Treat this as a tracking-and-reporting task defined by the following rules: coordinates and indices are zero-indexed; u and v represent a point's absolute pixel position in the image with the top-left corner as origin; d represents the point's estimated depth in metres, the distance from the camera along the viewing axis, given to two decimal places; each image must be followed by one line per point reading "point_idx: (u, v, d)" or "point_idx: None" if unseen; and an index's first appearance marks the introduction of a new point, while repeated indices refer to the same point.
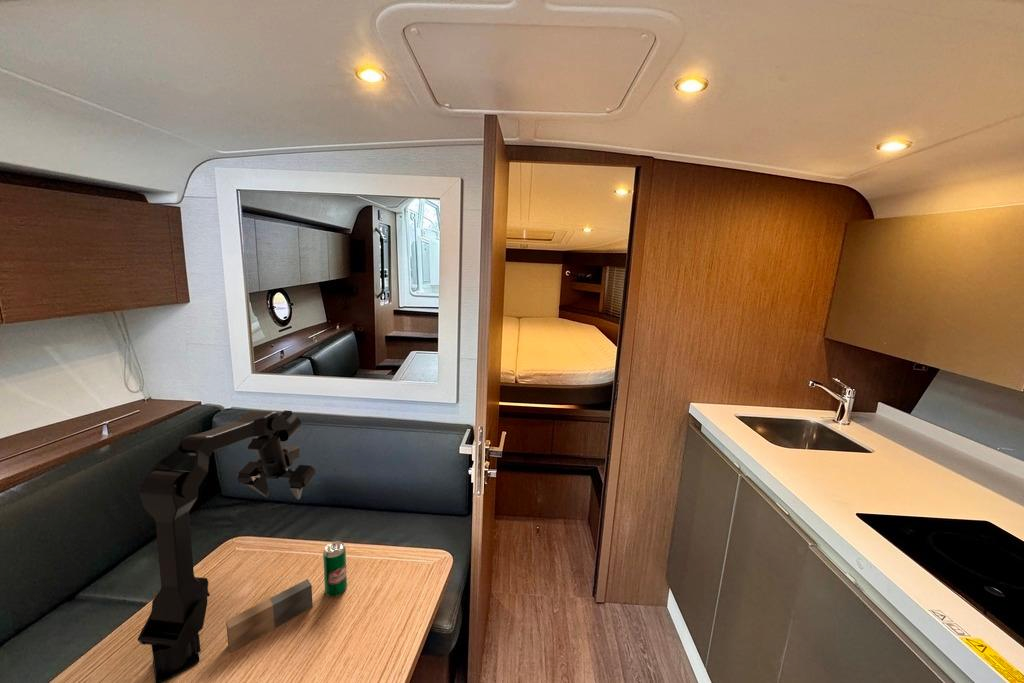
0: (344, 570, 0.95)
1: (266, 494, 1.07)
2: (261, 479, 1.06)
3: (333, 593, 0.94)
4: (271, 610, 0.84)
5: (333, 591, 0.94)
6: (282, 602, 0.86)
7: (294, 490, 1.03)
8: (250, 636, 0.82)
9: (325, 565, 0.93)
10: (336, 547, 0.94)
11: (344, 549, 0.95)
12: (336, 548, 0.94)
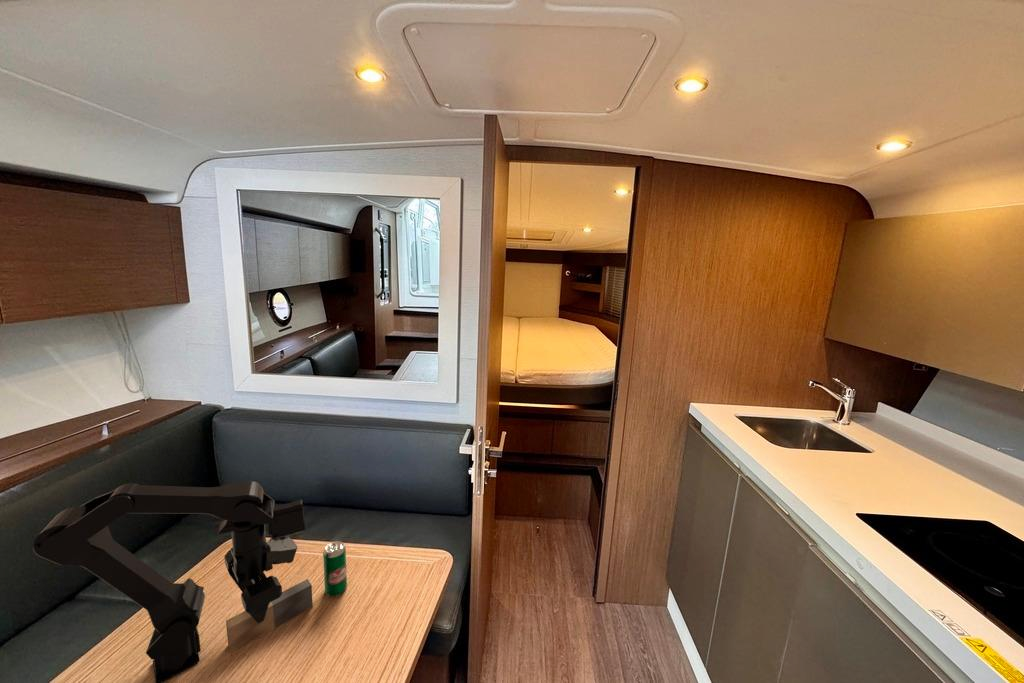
0: (344, 570, 0.95)
1: None
2: None
3: (333, 593, 0.94)
4: (271, 610, 0.84)
5: (333, 591, 0.94)
6: (282, 602, 0.86)
7: None
8: (250, 636, 0.82)
9: (325, 565, 0.93)
10: (336, 547, 0.94)
11: (344, 549, 0.95)
12: (336, 548, 0.94)
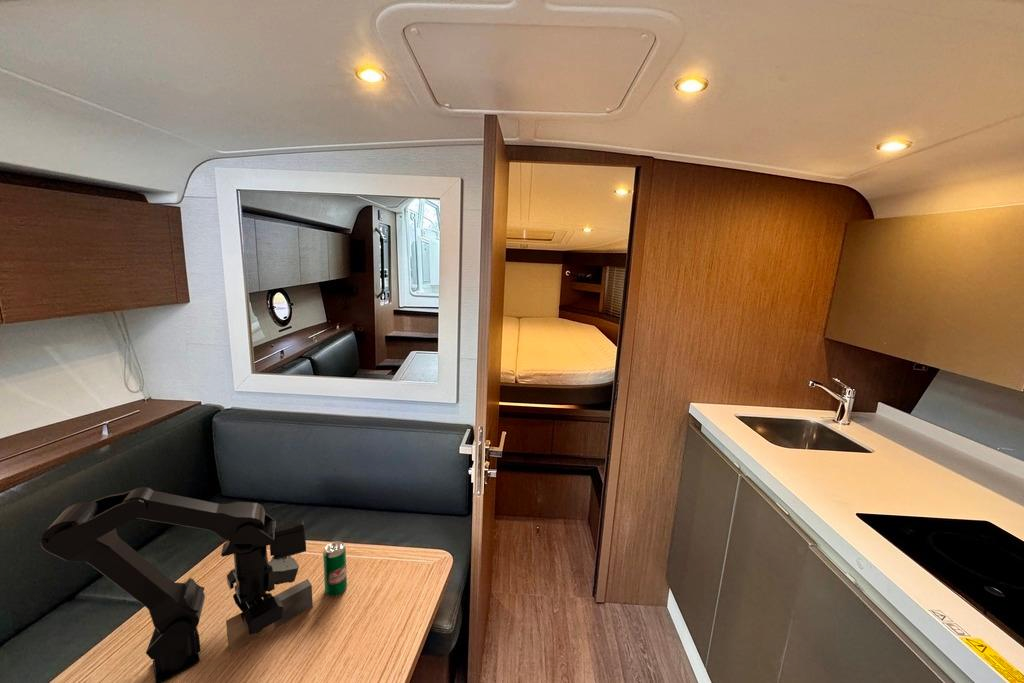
0: (344, 570, 0.95)
1: None
2: None
3: (333, 593, 0.94)
4: None
5: (333, 591, 0.94)
6: (282, 602, 0.86)
7: None
8: (250, 636, 0.82)
9: (325, 565, 0.93)
10: (336, 547, 0.94)
11: (344, 549, 0.95)
12: (336, 548, 0.94)
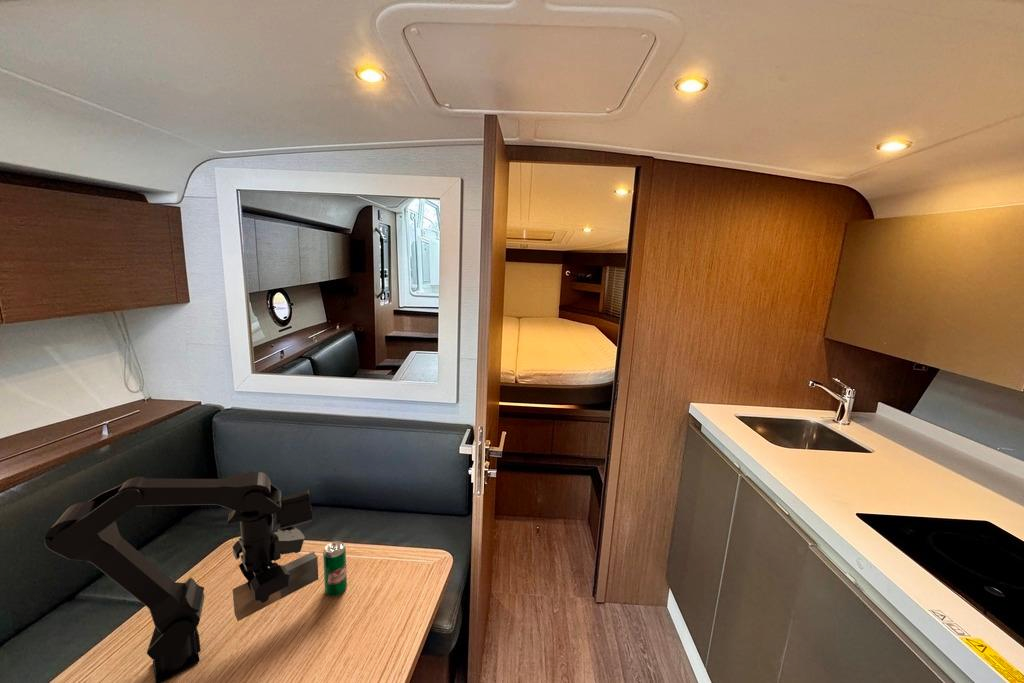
0: (344, 570, 0.95)
1: None
2: None
3: (333, 593, 0.94)
4: None
5: (333, 591, 0.94)
6: None
7: None
8: (256, 605, 0.82)
9: (325, 565, 0.93)
10: (336, 547, 0.94)
11: (344, 549, 0.95)
12: (336, 548, 0.94)
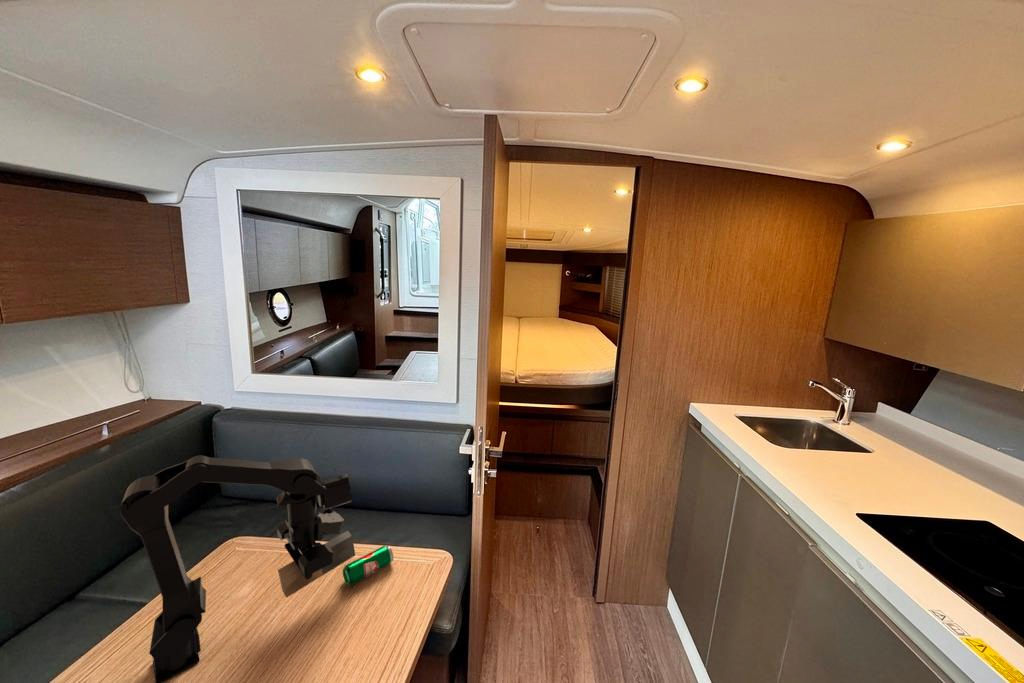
0: (371, 574, 1.00)
1: None
2: None
3: (354, 575, 0.96)
4: None
5: (357, 574, 0.97)
6: None
7: None
8: (301, 582, 0.88)
9: (379, 553, 1.02)
10: None
11: None
12: None
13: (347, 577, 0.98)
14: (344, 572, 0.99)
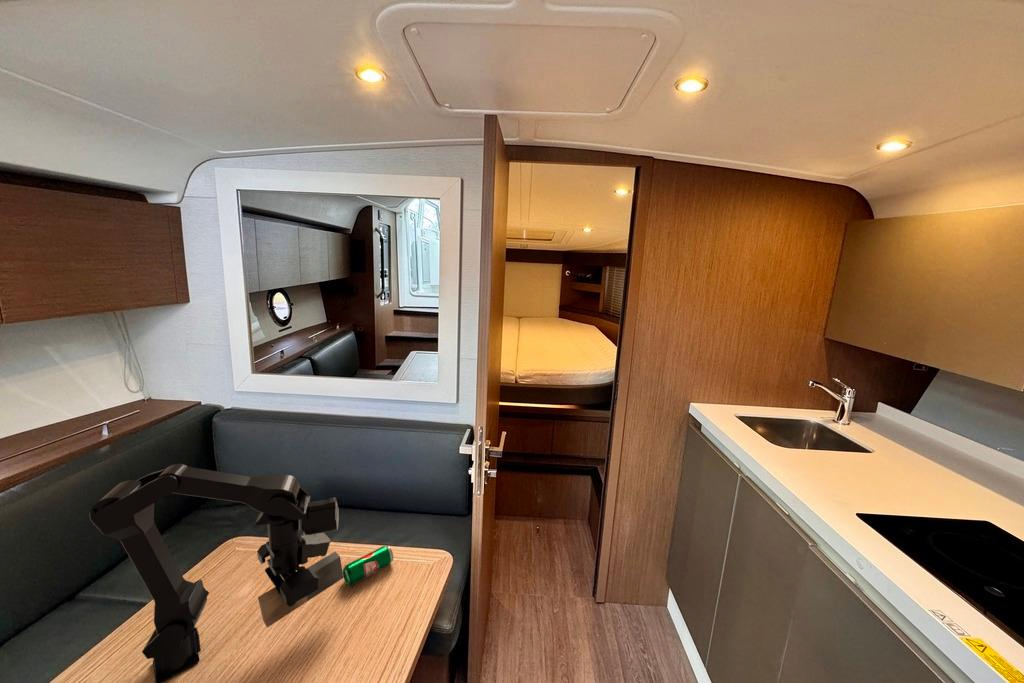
0: (371, 574, 1.01)
1: None
2: None
3: (354, 575, 0.96)
4: None
5: (357, 574, 0.97)
6: None
7: None
8: (284, 610, 0.81)
9: (379, 553, 1.02)
10: None
11: None
12: None
13: (347, 577, 0.98)
14: (344, 572, 0.99)
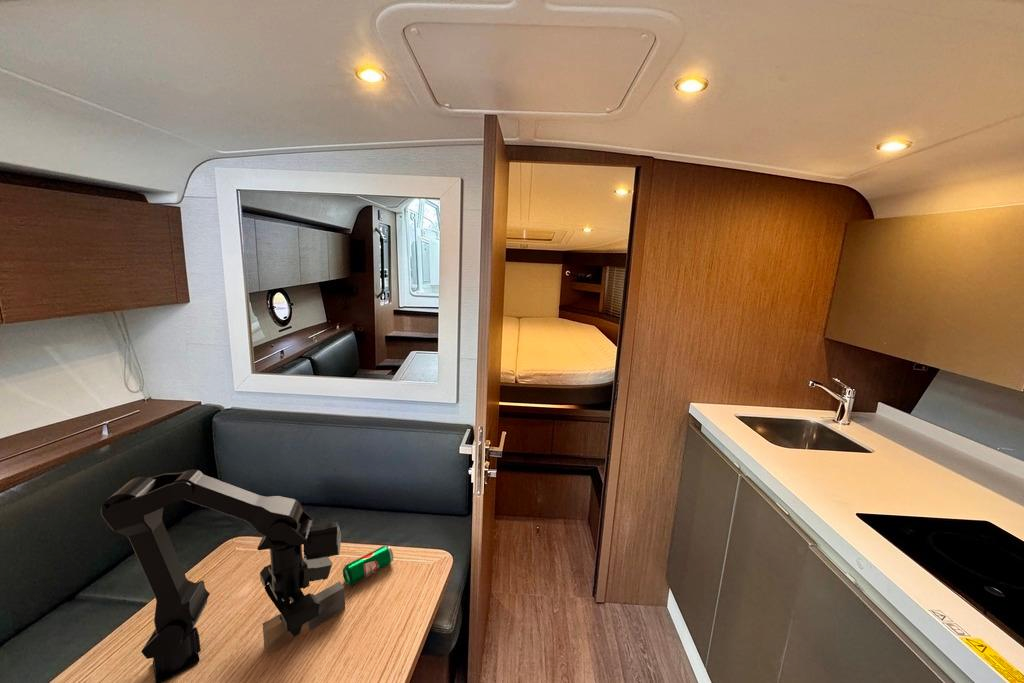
0: (371, 574, 1.01)
1: None
2: None
3: (354, 575, 0.96)
4: None
5: (357, 574, 0.97)
6: None
7: None
8: (286, 639, 0.81)
9: (379, 553, 1.02)
10: None
11: None
12: None
13: (347, 577, 0.98)
14: (344, 572, 0.99)
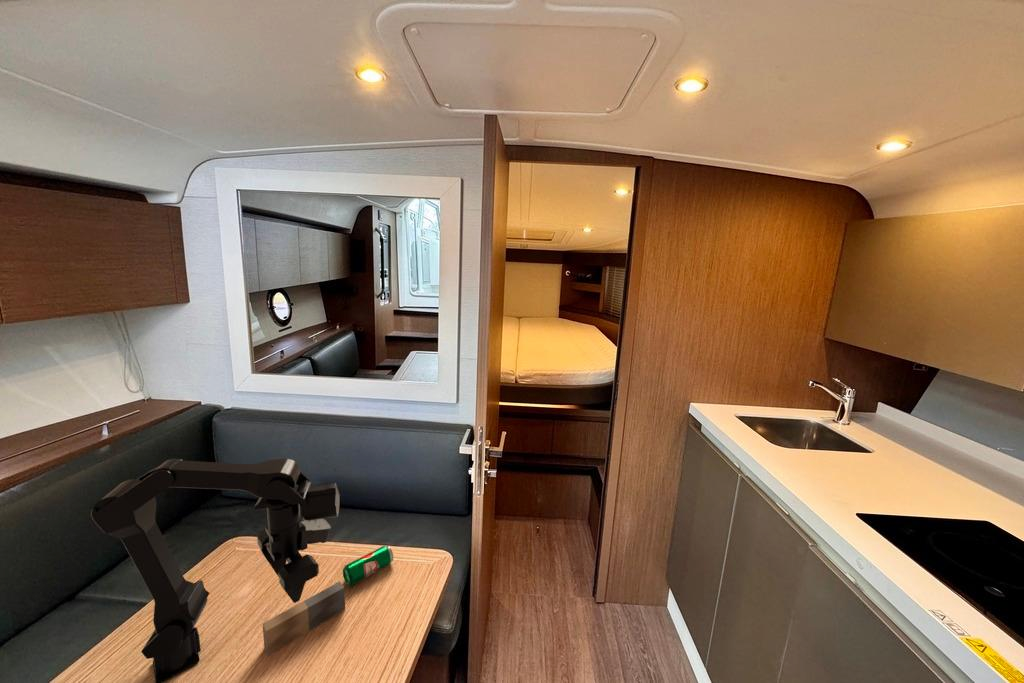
0: (371, 574, 1.01)
1: None
2: None
3: (354, 575, 0.96)
4: (306, 613, 0.84)
5: (357, 574, 0.97)
6: (316, 605, 0.85)
7: None
8: (286, 639, 0.81)
9: (379, 553, 1.02)
10: None
11: None
12: None
13: (347, 577, 0.98)
14: (344, 572, 0.99)
